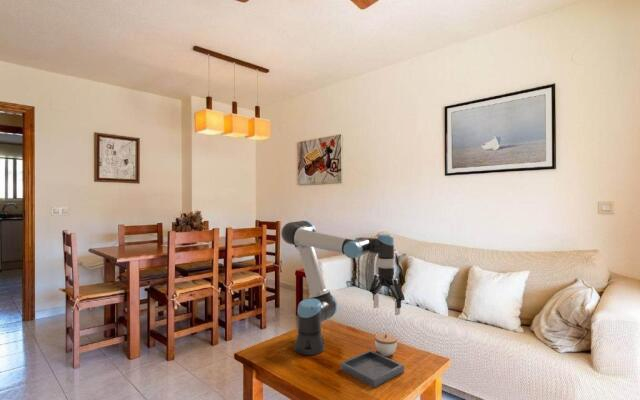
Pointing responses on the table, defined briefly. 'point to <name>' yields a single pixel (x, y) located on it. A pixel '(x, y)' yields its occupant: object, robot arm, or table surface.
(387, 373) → the tray
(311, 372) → the table surface
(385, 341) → the lidded jar
